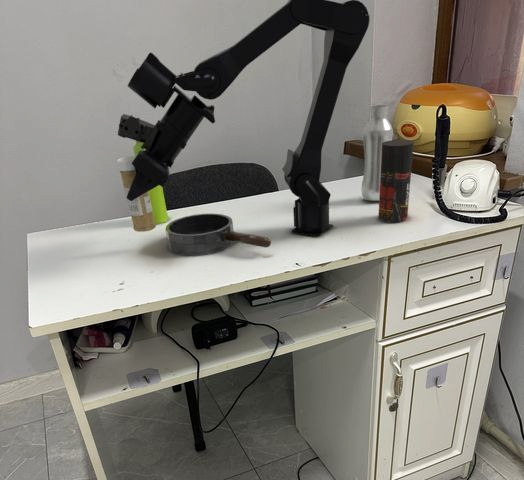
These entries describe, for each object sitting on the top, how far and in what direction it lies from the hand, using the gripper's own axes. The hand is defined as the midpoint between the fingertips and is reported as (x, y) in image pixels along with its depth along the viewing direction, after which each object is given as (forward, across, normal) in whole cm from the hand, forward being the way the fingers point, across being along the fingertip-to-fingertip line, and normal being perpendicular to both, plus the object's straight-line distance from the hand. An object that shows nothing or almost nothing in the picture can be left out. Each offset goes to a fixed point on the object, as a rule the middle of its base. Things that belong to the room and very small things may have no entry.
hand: (130, 196), depth 93 cm
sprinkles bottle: (+4, 0, +6) cm, 7 cm away
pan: (-1, 0, +16) cm, 16 cm away
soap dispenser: (+7, -20, +9) cm, 22 cm away
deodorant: (-29, -2, +46) cm, 54 cm away
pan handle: (-8, +8, +21) cm, 24 cm away
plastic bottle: (-30, -16, +46) cm, 57 cm away
